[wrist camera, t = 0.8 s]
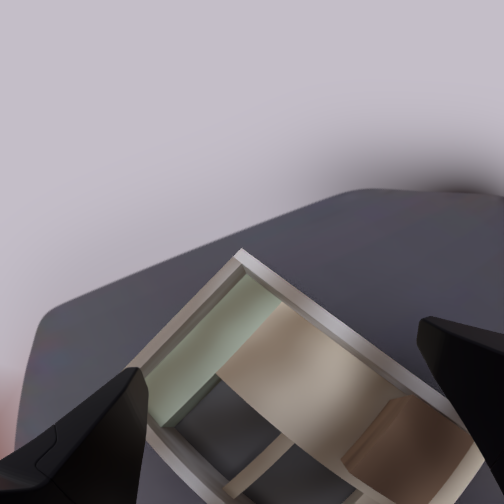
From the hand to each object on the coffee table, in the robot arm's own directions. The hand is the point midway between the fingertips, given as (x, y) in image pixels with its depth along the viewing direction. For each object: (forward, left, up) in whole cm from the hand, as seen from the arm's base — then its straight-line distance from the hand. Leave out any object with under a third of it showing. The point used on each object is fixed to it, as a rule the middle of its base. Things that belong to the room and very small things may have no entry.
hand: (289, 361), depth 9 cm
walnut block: (-7, 0, -9) cm, 12 cm away
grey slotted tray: (-3, +2, -12) cm, 12 cm away
